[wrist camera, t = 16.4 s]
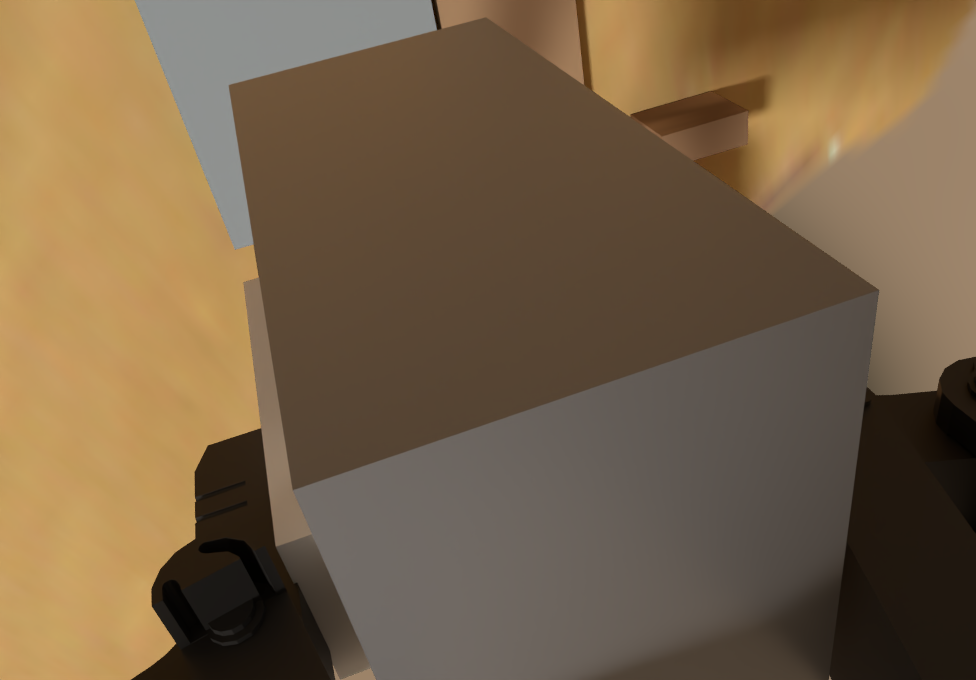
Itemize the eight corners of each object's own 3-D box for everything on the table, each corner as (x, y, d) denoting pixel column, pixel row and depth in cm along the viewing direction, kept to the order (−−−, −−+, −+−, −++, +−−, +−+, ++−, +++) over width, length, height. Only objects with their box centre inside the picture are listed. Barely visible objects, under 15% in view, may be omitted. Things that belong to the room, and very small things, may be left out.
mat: (234, 241, 34) (235, 249, 33) (94, -108, 26) (92, -107, 26) (462, 174, 36) (467, 181, 35) (391, -175, 28) (396, -174, 27)
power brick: (360, 473, 19) (493, 973, 11) (219, 87, 13) (271, 498, 5) (550, 408, 19) (808, 832, 11) (486, 17, 14) (879, 290, 6)
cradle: (488, 279, 39) (509, 311, 36) (364, -345, 25) (383, -361, 23) (712, 209, 40) (746, 235, 38) (706, -410, 27) (757, -430, 25)
